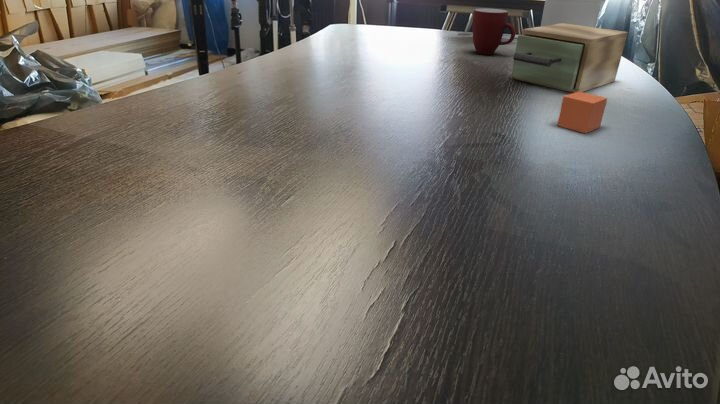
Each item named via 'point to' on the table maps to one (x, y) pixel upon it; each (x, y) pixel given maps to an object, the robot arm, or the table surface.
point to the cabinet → (587, 52)
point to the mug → (490, 30)
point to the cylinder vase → (571, 12)
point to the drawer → (547, 60)
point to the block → (581, 112)
